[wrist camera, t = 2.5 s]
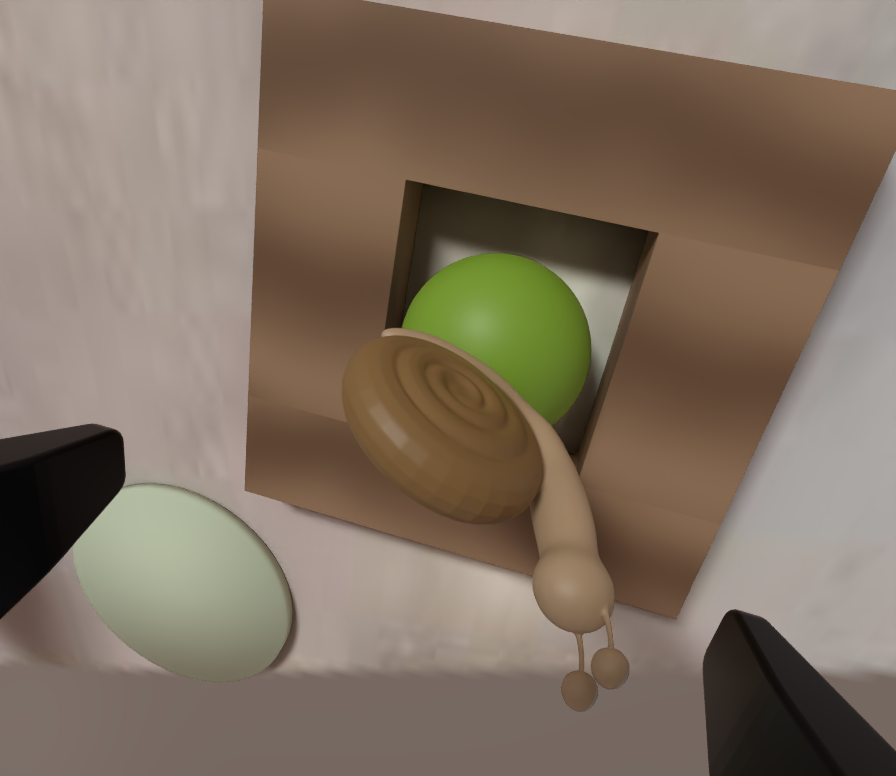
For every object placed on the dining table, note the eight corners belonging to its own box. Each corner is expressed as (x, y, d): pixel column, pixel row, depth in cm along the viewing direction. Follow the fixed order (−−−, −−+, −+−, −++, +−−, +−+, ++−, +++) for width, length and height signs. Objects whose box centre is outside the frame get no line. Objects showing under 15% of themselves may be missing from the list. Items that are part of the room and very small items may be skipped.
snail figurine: (542, 446, 20) (496, 787, 9) (397, 337, 20) (166, 555, 9) (650, 330, 18) (764, 600, 7) (488, 205, 17) (331, 276, 6)
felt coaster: (285, 699, 28) (279, 709, 27) (92, 632, 29) (83, 641, 29) (301, 523, 24) (294, 532, 23) (73, 455, 25) (62, 461, 24)
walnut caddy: (667, 579, 21) (676, 618, 19) (271, 464, 23) (244, 490, 21) (878, 103, 14) (921, 94, 12) (299, 3, 16) (263, -17, 15)
